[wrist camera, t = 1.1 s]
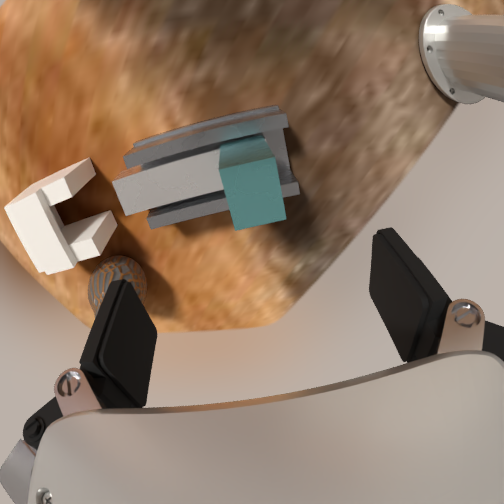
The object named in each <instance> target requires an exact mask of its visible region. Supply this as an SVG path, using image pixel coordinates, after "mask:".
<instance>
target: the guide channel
mask: <svg viewBox="0 0 504 504" xmlns="http://www.w3.org/2000/svg"><path fill="white" fill-rule="evenodd" d="M286 127H289V126H288V121H287V116H286V113H285V112H283V111H282V110H280V109H279V107H278V105H272V106H267V107H261V108H256V109H252V110H247V111H242V112H238V113H233V114H229V115H225V116H221V117H217V118H213V119H209V120H205V121H201V122H198V123H194V124H190V125H187V126H183V127H180V128H177V129H173V130H170V131H167V132H163V133H160V134H157V135H154V136H151V137H148V138H145V139H142V140H139V141H136V142H135V143H134V144H133V145H134V147H133V148H132V149H131V150H130V151H129V152H128V153H126V154H125V155H124V156H123V158H124V161H125V164H126V167H127V169H129V168H132V167H135V166H138V165H141V164H144V163H147V162H151V161H154V160H157V159H160V158H163V157H167V156H170V155H173V154H177V153H180V152H184V151H187V150H191V149H194V148H198V147H202V146H206V145H210V144H213V143H217V142H221V141H226V140H230V139H234V138H238V137H243V136H247V135H252V134H256V133H261V132H262V133H263V135H264V137H265V138H266V142H267V144H268V146H269V148H270V149H271V151H272V153H273V154H274V156H275V160H276V165H277V170H278V175H279V181H280V186H281V191H282V197H283V198H284V197H289V196H293V195H298V194H300V192H299V185H298V181H297V180H296V178H295V176H294V175H293V173H292V172H291V170H290V166H289V160H288V154H287V149H286V143H285V138H284V133H283V128H286ZM226 210H229V206H228V202H227V199H226V195H225V191H224V189H223V190H219V191H215V192H211V193H207V194H203V195H199V196H195V197H191V198H188V199H184V200H180V201H176V202H173V203H169V204H165V205H162V206H158V207H155V208H151V210H150V212H149V214H148V216H147V221H148V223H149V226H150V228H151V229H155V228H158V227H162V226H166V225H170V224H174V223H177V222H181V221H185V220H189V219H193V218H197V217H201V216H205V215H209V214H214V213H218V212H222V211H226Z"/></svg>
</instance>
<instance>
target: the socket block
mask: <svg viewBox="0 0 504 504" xmlns="http://www.w3.org/2000/svg"><path fill="white" fill-rule="evenodd" d="M95 175H96V173H95V170H94V168H93V165H92V162H91V160H90V158H87V159H85V160H83V161H80V162H78V163H76V164H73V165H71V166H69V167H67V168H65V169H62V170H60V171H58V172H56V173H54V174H52V175H50V176H48V177H46V178H44V179H42V180H40V181H38V182H36V183H34V184H32V185H31V186H29V187H28V188H27V189H25V190H24V191H23V192H22V193H20V194H19V195H18V196H17V197H16V198H14V199H13V200H12V201H11V202H10V203H8V204H7V205H6V206H5V207H4V209H5V211H6V213H7V215H8V217H9V219H10V221H11V223H12V225H13V227H14V229H15V231H16V233H17V235H18V237H19V238H20V240H21V242H22V244H23V246H24V248H25V249H26V251H27V253H28V255H29V256H30V258H31V260H32V262H33V263H34V265H35V267H36V268H37V270H38V271H39V273H40V272H43V271H45V272H46V274H47V275H49V274H52V273H56V272H60V271H63V270H67V269H71V268H74V267H75V265H76V263H77V262H78V261H82V260H85V259H89V258H92V257H96V256H100V255H101V253H102V252H103V250H104V248H105V246H106V244H107V243H108V241H109V239H110V237H111V236H112V234H113V232H114V231H115V229H116V227H117V226H118V225H117V223H116V221H115V218H114V216H113V214H112V212H111V210H109V211H106V212H103V213H100V214H97V215H94V216H91V217H89V218H86V219H83V220H80V221H77V222H74V223H71V224H69V225H66V226H64V224H63V222H62V220H61V218H60V216H59V214H58V212H57V210H56V208H55V206H54V204H57V203H59V202H61V201H64V200H66V199H69V198H71V197H73V196H74V195H75V194H76V193H77V192H78V191H79V190H80V189H81V188H82V187H83V186H84V185H85V184H86V183H87V182H88V181H89V180H90V179H92V178H93V177H94V176H95Z"/></svg>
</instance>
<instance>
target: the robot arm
mask: <svg viewBox="0 0 504 504" xmlns="http://www.w3.org/2000/svg"><path fill="white" fill-rule="evenodd" d="M419 47H420V53H421V57H422V61H423V64H424V66H425V69H426V71H427V73H428V75H429V77H430V78H431V80H432V82H433V83H434V84H435V86H436V87H437V88H438V89H439V90H440V91H441V92H442V93H443V94H444V95H445V96H447V97H448V98H450V99H452V100H454V101H456V102H460V103H464V104H473V103H477V102H479V101H481V100H482V99H484V98H485V97H488V98H492V99H495V100H498V101H502V102H504V15H472V14H471V13H470V12H469V11H467V10H465V9H464V8H462V7H459V6H457V5H452V4H443V5H438V6H435V7H433V8H431V9H430V10H429V11H428V12H427V13H426V14H425V16H424V17H423V20H422V22H421V25H420V30H419ZM369 292H370V296H371V298H372V300H373V302H374V304H375V306H376V308H377V310H378V312H379V314H380V316H381V318H382V320H383V322H384V323H385V326H386V328H387V330H388V332H389V334H390V336H391V338H392V340H393V342H394V344H395V346H396V348H397V350H398V353H399V355H400V357H401V359H402V360H403V362H406V361H407V363H406V364H403V365H400V366H397V367H393V368H390V369H387V370H383V371H380V372H376V373H372V374H369V375H365V376H362V377H358V378H354V379H350V380H346V381H342V382H338V383H334V384H330V385H326V386H321V387H316V388H311V389H307V390H302V391H297V392H292V393H286V394H281V395H275V396H269V397H263V398H256V399H249V400H241V401H233V402H225V403H215V404H206V405H193V406H180V407H179V406H178V407H159V408H158V407H157V408H142V407H143V406H145V405H146V401H147V394H148V387H149V381H150V374H151V369H152V363H153V356H154V351H155V345H156V339H157V330H156V327H155V326H154V324H153V322H152V320H151V319H150V317H149V315H148V313H147V311H146V310H145V308H144V306H143V304H142V302H141V300H140V299H139V297H138V295H137V293H136V291H135V289H134V287H133V285H132V284H131V282H127V280H125V279H121V280H115V281H112V282H110V284H109V287H108V289H107V291H106V294H105V296H104V298H103V301H102V303H101V306H100V308H99V311H98V313H97V316H96V318H95V321H94V323H93V326H92V328H91V331H90V334H89V337H88V339H87V342H86V345H85V347H84V350H83V353H82V356H81V359H80V364H81V366H80V369H78V368H70V369H67V370H65V371H64V372H63V373H62V374H60V375H59V377H58V378H57V380H56V382H55V386H54V392H55V397H54V398H53V399H52V400H50V401H49V402H48V403H47V404H46V405H44V406H43V407H42V408H41V409H39V410H38V411H37V412H36V413H35V414H33V415H32V416H31V417H30V418H29V419H28V420H27V422H26V423H25V425H24V429H23V437H24V440H21V439H20V440H19V441H18V443H17V444H16V446H15V447H14V449H13V450H12V452H11V453H10V455H9V456H8V458H7V459H6V460H5V462H4V464H3V465H2V466H1V469H0V482H1V484H2V486H3V487H4V489H5V490H6V492H7V493H8V495H9V496H10V498H11V499H12V500H13V502H14V503H15V504H504V327H502V326H499V325H496V324H494V323H491V322H488V321H485V316H484V312H483V310H482V309H481V307H480V306H479V305H478V304H476V303H475V302H473V301H471V300H468V299H458V300H455V301H453V302H452V300H451V299H450V298H449V296H448V295H447V294H446V292H445V291H444V290H443V288H442V287H441V286H440V284H439V283H438V282H437V280H436V279H435V278H434V276H433V275H432V274H431V272H430V271H429V270H428V269H427V267H426V266H425V265H424V264H423V262H422V261H421V260H420V259H419V258H418V257H417V256H416V255H415V254H414V253H413V251H412V250H411V249H410V248H409V246H408V245H407V244H406V243H405V242H404V241H403V239H402V238H401V237H400V236H399V235H398V233H396V231H395V230H394V229H393V228H386V229H381V230H378V231H377V234H375V235H374V236H373V242H372V260H371V273H370V284H369Z"/></svg>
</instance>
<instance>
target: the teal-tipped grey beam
mask: <svg viewBox="0 0 504 504" xmlns="http://www.w3.org/2000/svg"><path fill="white" fill-rule="evenodd" d="M112 183H113V186H114V188H115V191H116V193H117V196H118V198H119V201H120V203H121V205H122V208H123V210H124V213H125V215H126V216H127V215H131V214H134V213H137V212H141V211H144V210H148V209H151V208H155V207H158V206H162V205H165V204H169V203H173V202H176V201H180V200H184V199H188V198H191V197H195V196H199V195H203V194H207V193H211V192H215V191H219V190H223V189H224V191H225V195H226V199H227V202H228V206H229V210H230V213H231V217H232V220H233V224H234V228H235V231H236V230H241V229H245V228H249V227H254V226H258V225H263V224H267V223H272V222H276V221H281V220H285V219H286V214H285V208H284V202H283V197H282V191H281V186H280V181H279V175H278V170H277V165H276V160H275V156H274V154H273V153H272V151H271V149H270V148H269V146H268V144H267V142H266V138H265V137H264V135H263V133H262V132H261V133H256V134H252V135H247V136H243V137H238V138H234V139H230V140H226V141H221V142H217V143H213V144H210V145H206V146H202V147H198V148H194V149H191V150H187V151H184V152H180V153H177V154H173V155H170V156H167V157H163V158H160V159H157V160H154V161H151V162H147V163H144V164H141V165H138V166H135V167H132V168H129V169H127V170H124V171H121V173H120V174H119V175H118V176H117V177H116V178H115V179H114V180H113V181H112Z"/></svg>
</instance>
